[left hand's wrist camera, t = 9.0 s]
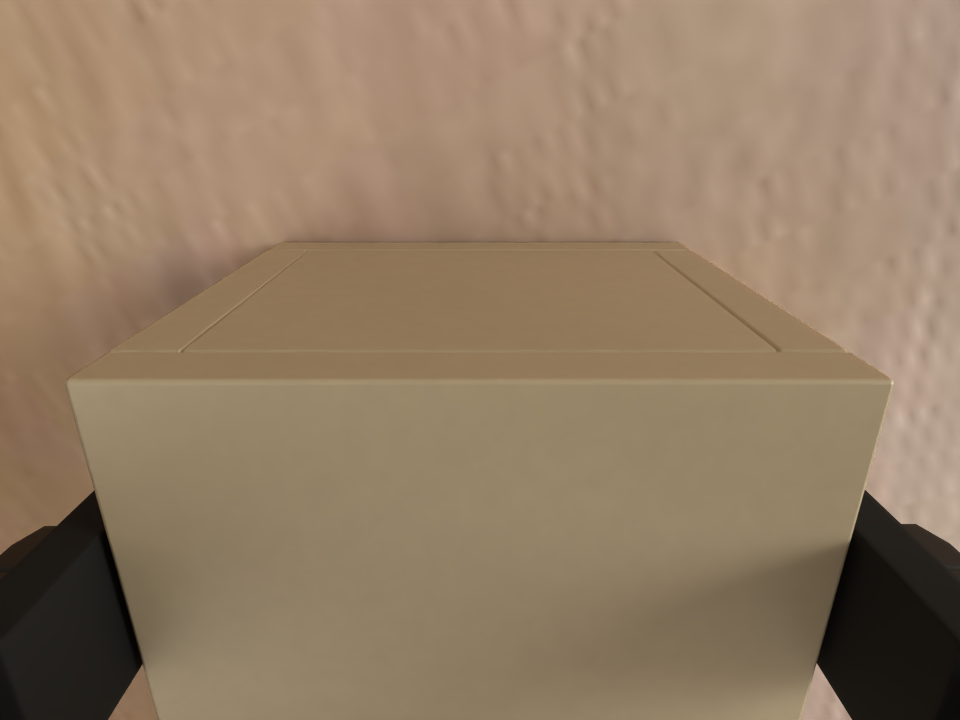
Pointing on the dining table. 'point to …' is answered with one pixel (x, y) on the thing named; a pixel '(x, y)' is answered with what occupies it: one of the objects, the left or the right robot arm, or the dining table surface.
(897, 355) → the dining table surface
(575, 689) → the cabinet
